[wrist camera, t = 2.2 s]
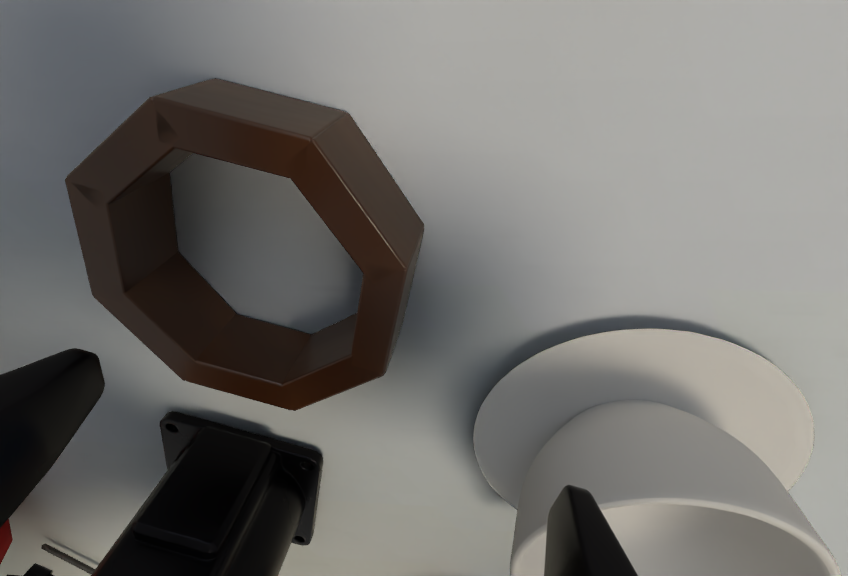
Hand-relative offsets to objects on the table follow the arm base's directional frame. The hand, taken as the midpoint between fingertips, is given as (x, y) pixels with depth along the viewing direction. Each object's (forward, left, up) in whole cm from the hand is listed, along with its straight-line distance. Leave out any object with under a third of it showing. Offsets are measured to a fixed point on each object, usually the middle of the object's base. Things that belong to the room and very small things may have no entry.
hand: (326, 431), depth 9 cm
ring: (0, +4, -6) cm, 7 cm away
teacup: (-4, -9, -6) cm, 11 cm away
